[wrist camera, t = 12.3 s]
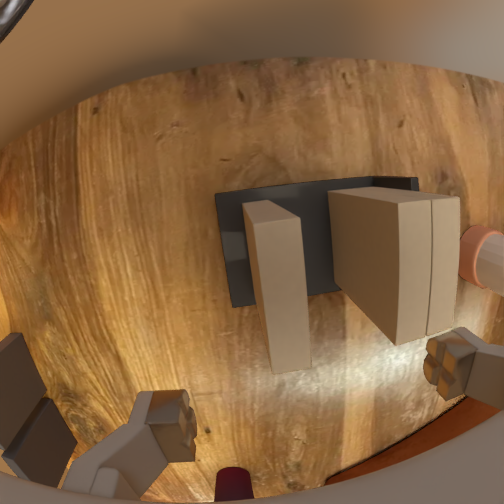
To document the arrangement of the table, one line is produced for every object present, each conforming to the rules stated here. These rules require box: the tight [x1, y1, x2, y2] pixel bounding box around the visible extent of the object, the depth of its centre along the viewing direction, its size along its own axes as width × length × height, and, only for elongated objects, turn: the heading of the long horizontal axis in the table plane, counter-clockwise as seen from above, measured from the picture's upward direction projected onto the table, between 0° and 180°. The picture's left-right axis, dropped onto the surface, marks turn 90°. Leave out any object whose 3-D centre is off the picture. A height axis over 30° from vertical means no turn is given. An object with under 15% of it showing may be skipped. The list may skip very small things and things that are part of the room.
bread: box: [325, 396, 501, 486], centre depth 33 cm, size 14×33×16 cm, turn 117°
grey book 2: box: [1, 398, 77, 488], centre depth 28 cm, size 9×2×13 cm, turn 8°
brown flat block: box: [242, 200, 312, 375], centre depth 23 cm, size 9×2×13 cm, turn 7°
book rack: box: [215, 176, 460, 346], centre depth 23 cm, size 11×16×14 cm
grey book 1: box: [0, 333, 47, 451], centre depth 25 cm, size 9×2×13 cm, turn 8°
